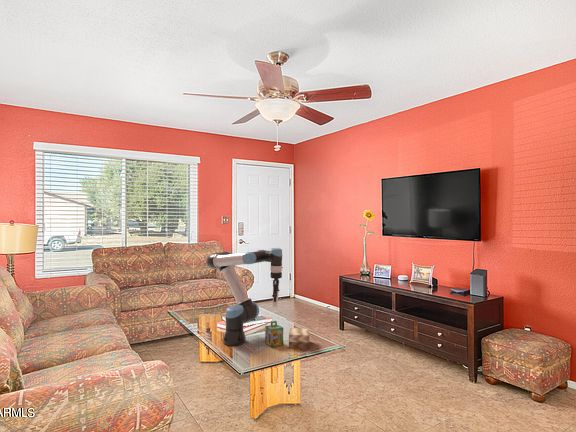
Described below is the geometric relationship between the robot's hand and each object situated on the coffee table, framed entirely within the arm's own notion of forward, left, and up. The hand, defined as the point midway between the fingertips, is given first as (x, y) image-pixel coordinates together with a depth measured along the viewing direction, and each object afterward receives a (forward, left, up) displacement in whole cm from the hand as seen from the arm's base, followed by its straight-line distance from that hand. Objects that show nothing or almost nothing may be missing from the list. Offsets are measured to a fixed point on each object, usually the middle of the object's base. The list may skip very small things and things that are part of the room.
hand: (275, 303), depth 234 cm
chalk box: (-1, -1, -27) cm, 27 cm away
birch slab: (+16, -1, -22) cm, 27 cm away
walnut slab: (+16, -1, -27) cm, 31 cm away
